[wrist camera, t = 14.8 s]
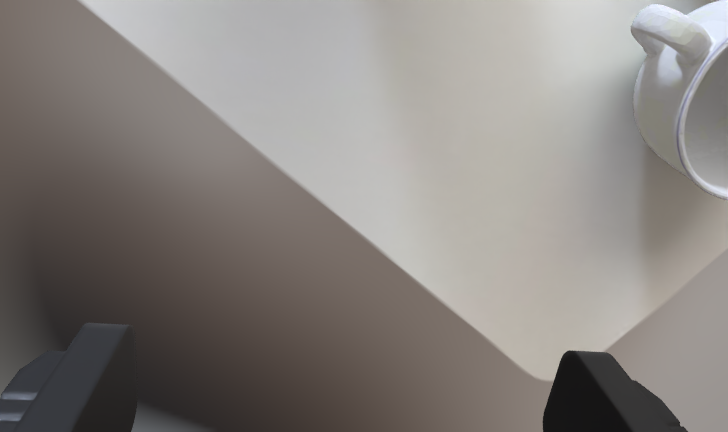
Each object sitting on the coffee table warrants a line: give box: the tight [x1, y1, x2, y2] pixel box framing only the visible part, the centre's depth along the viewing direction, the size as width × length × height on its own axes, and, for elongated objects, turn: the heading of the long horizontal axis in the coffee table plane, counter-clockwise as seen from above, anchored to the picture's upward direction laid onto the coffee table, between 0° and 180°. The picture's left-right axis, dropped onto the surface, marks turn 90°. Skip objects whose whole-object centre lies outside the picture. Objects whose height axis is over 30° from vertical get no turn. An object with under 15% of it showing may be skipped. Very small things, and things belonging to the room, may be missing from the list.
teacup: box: [631, 0, 728, 200], centre depth 32 cm, size 14×11×8 cm
